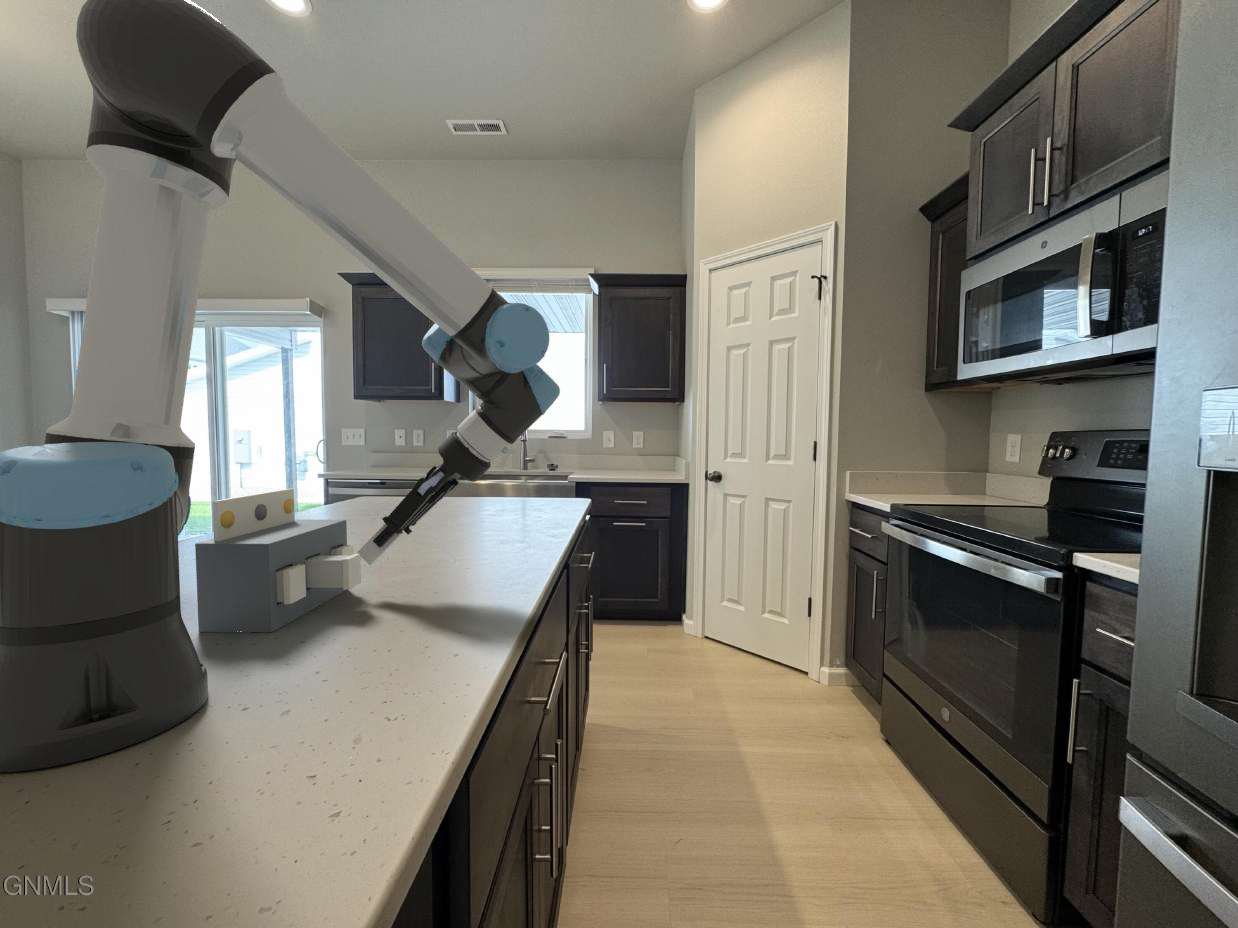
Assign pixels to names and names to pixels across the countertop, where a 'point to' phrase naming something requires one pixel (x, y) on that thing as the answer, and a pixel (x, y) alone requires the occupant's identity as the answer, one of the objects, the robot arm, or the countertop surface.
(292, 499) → the pattern sign
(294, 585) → the button near
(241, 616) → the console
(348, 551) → the button far
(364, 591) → the countertop surface
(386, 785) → the countertop surface
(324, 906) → the countertop surface
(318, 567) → the button middle
